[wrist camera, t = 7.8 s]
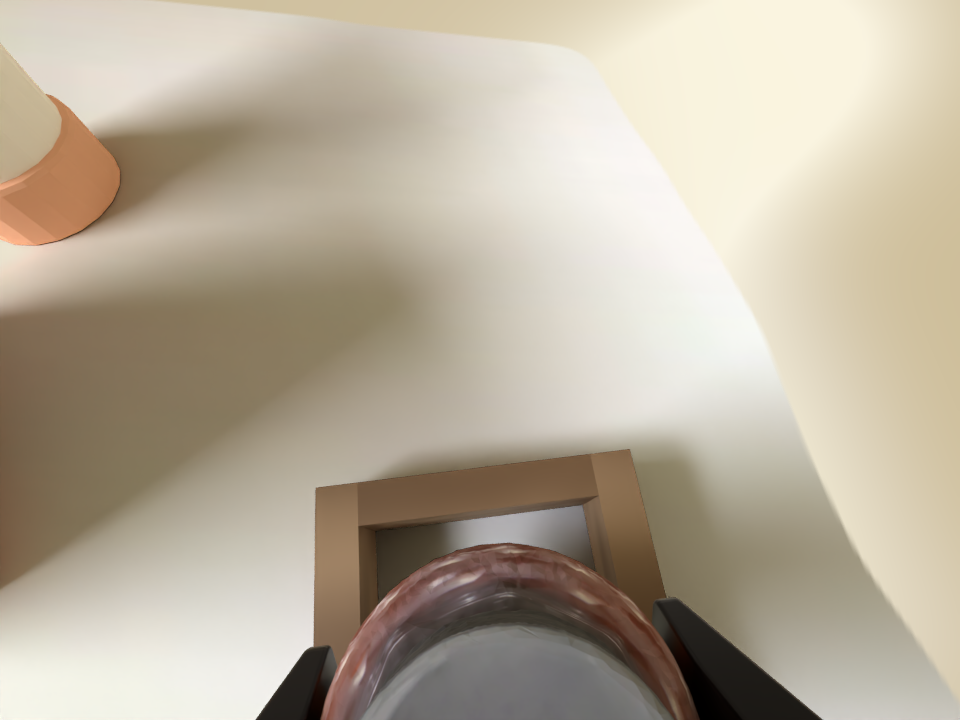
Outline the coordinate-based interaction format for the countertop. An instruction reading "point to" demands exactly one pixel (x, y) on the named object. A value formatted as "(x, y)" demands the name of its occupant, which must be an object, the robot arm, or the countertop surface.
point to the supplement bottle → (507, 646)
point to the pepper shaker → (47, 164)
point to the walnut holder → (470, 495)
